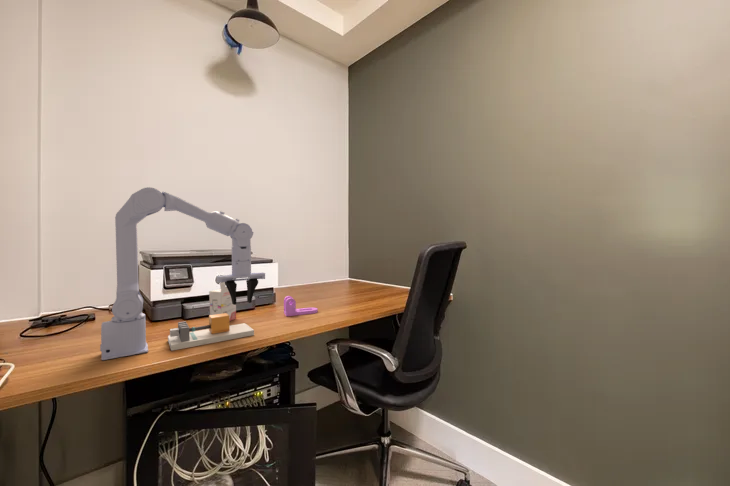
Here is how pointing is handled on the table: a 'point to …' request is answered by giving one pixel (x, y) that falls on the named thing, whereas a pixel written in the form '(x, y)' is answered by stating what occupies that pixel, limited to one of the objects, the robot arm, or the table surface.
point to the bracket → (291, 308)
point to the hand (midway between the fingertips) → (241, 303)
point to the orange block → (219, 323)
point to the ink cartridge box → (222, 302)
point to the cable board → (204, 335)
